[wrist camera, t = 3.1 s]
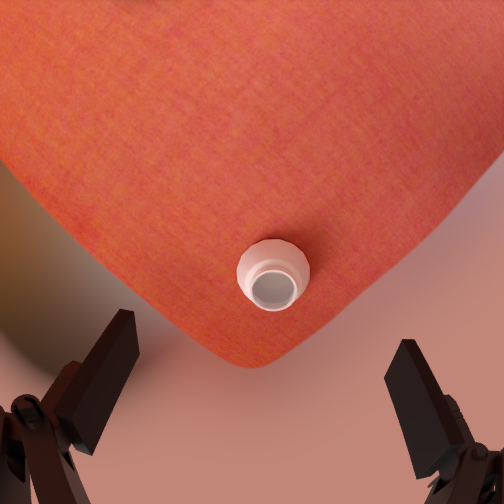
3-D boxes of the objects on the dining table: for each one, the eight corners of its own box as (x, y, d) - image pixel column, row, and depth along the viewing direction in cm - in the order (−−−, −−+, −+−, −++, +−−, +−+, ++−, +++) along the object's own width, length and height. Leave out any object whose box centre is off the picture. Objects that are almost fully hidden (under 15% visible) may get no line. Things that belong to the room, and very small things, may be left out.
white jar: (224, 272, 22) (275, 311, 23) (217, 292, 20) (275, 335, 21) (270, 222, 21) (322, 268, 22) (270, 238, 18) (329, 288, 19)
